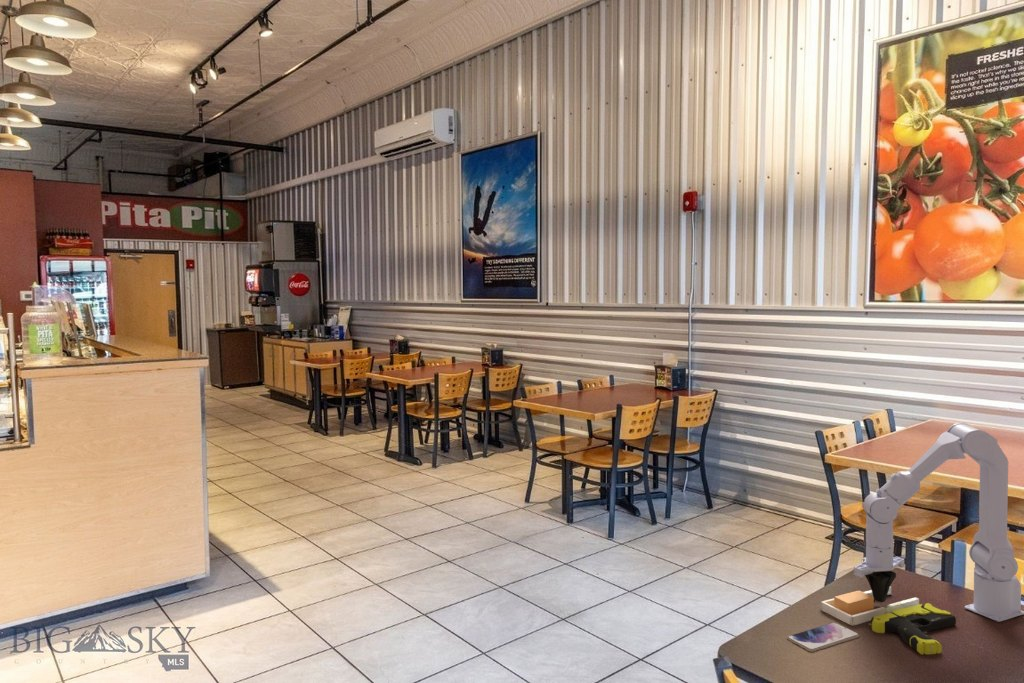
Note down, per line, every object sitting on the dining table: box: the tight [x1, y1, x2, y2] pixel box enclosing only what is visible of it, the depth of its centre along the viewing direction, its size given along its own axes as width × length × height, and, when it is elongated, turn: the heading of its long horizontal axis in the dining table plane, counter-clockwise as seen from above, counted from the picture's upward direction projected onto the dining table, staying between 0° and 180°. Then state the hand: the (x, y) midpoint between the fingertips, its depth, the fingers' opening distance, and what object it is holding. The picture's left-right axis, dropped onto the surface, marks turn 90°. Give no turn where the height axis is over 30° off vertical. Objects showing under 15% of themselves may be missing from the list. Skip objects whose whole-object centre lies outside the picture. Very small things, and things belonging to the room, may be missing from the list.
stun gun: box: [868, 602, 957, 655], centre depth 150 cm, size 3×19×15 cm
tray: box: [820, 597, 886, 626], centre depth 160 cm, size 11×9×2 cm
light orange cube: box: [846, 590, 875, 613], centre depth 161 cm, size 4×4×4 cm
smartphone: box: [786, 622, 860, 653], centre depth 149 cm, size 7×1×15 cm
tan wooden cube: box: [833, 593, 861, 615], centre depth 159 cm, size 4×4×4 cm
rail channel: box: [863, 586, 920, 614], centre depth 164 cm, size 11×8×2 cm
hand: (879, 600), depth 163 cm, fingers closed
